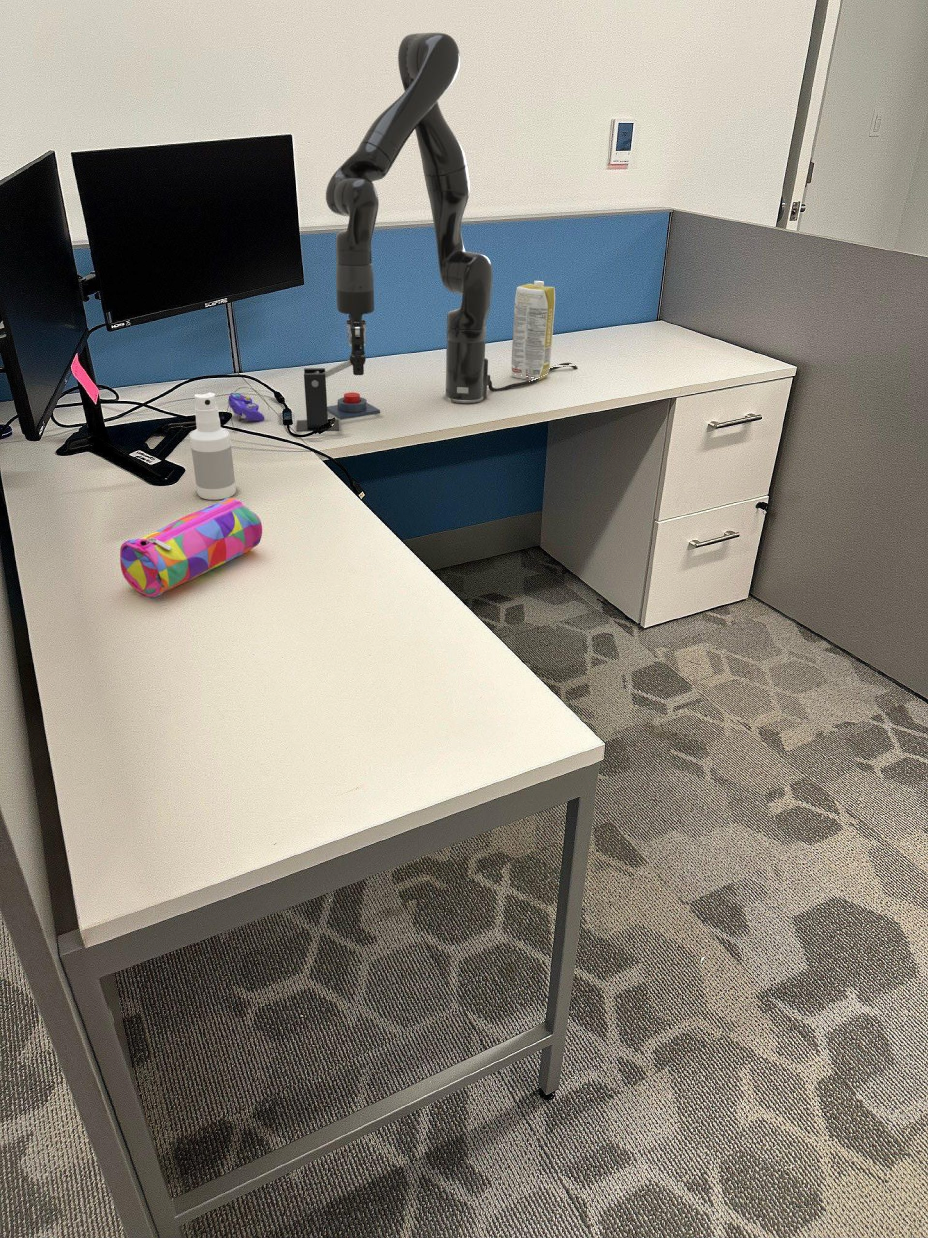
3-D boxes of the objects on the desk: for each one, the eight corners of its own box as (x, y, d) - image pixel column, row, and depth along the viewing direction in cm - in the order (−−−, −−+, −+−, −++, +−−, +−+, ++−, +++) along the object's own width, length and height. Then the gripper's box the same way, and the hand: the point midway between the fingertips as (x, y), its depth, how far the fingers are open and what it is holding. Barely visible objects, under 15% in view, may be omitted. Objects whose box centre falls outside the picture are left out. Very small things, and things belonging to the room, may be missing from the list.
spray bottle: (202, 502, 153) (188, 402, 144) (193, 489, 158) (179, 391, 149) (240, 496, 156) (229, 397, 147) (230, 483, 161) (219, 387, 152)
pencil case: (161, 610, 121) (151, 552, 116) (116, 591, 125) (105, 535, 120) (270, 553, 137) (265, 500, 132) (226, 538, 141) (220, 486, 136)
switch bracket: (338, 424, 192) (335, 366, 186) (339, 435, 186) (336, 375, 180) (297, 425, 191) (293, 366, 184) (296, 435, 185) (292, 375, 178)
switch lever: (368, 360, 184) (360, 346, 182) (368, 364, 181) (361, 350, 179) (313, 387, 185) (305, 373, 184) (313, 392, 182) (305, 377, 181)
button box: (364, 407, 203) (363, 392, 201) (380, 417, 197) (380, 402, 196) (325, 413, 198) (324, 398, 197) (340, 423, 193) (339, 408, 191)
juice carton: (552, 376, 231) (560, 281, 218) (538, 383, 225) (545, 285, 213) (521, 370, 235) (527, 277, 223) (507, 377, 229) (512, 281, 217)
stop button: (355, 398, 198) (355, 391, 198) (362, 403, 196) (362, 395, 195) (341, 401, 197) (341, 393, 196) (348, 405, 194) (348, 397, 193)
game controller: (280, 406, 190) (241, 406, 183) (270, 438, 194) (232, 439, 187) (256, 383, 194) (217, 382, 187) (247, 415, 199) (208, 415, 191)
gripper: (375, 293, 169) (377, 379, 178) (371, 280, 181) (373, 361, 190) (336, 293, 168) (340, 379, 177) (335, 280, 180) (339, 361, 189)
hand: (357, 369), depth 183 cm, fingers open, 6 cm apart
